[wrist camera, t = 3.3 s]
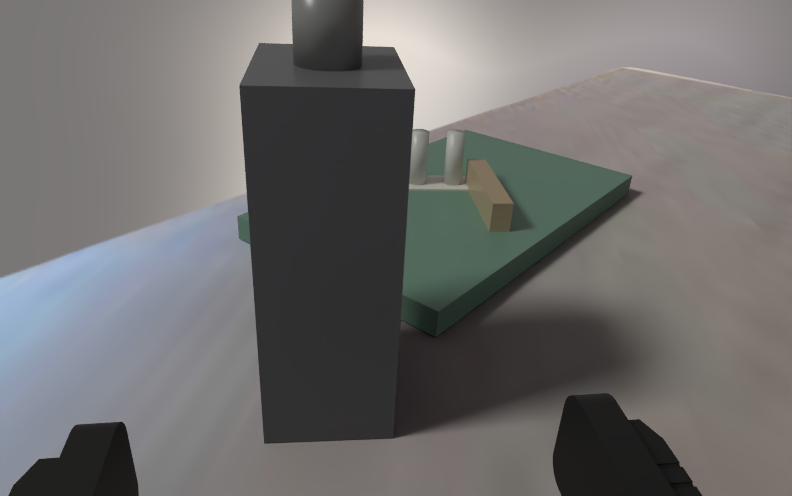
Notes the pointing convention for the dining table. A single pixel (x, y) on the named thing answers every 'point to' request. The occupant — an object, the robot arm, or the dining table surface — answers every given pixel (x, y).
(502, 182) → the board
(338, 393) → the block
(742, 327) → the dining table surface
